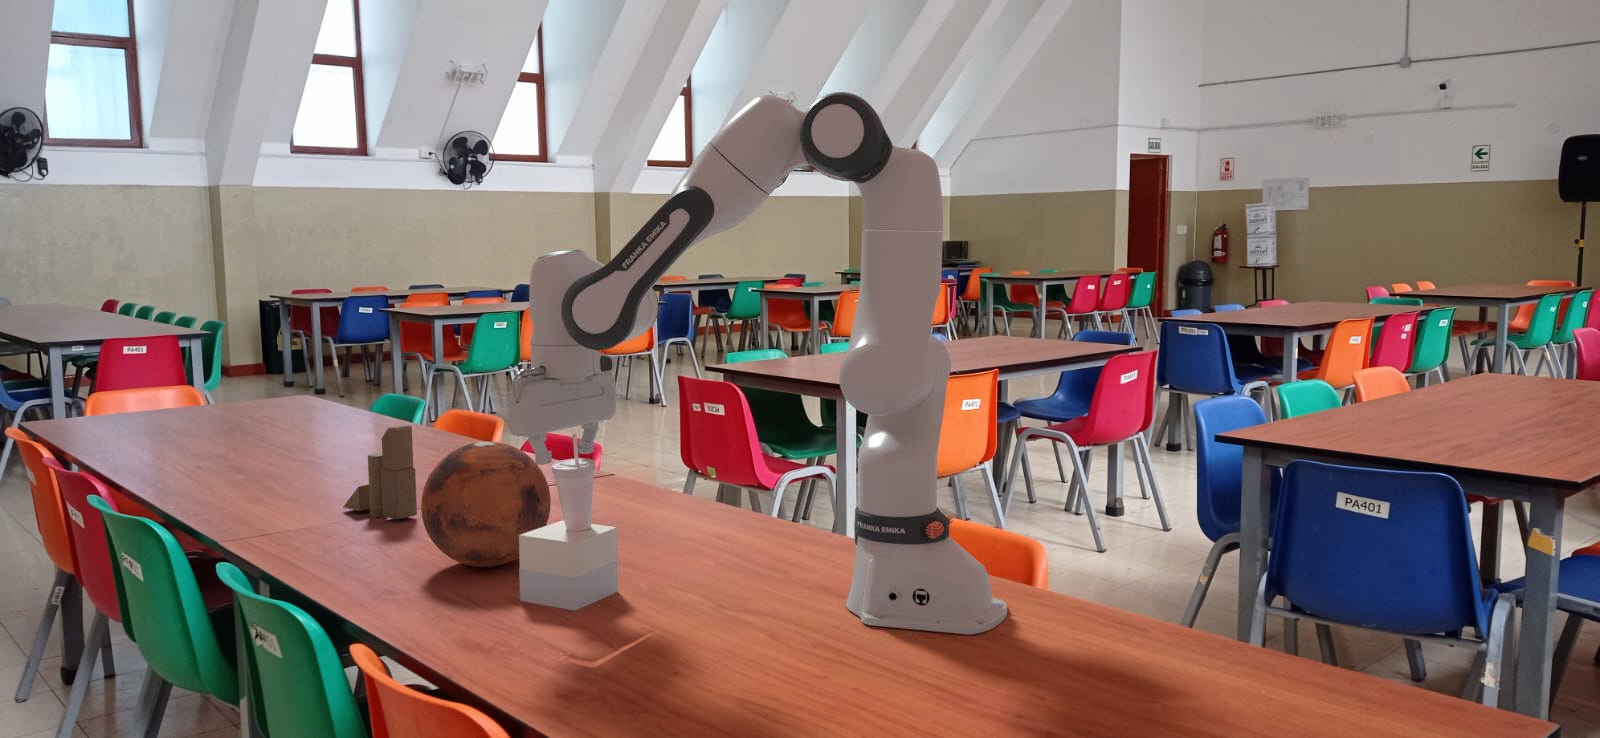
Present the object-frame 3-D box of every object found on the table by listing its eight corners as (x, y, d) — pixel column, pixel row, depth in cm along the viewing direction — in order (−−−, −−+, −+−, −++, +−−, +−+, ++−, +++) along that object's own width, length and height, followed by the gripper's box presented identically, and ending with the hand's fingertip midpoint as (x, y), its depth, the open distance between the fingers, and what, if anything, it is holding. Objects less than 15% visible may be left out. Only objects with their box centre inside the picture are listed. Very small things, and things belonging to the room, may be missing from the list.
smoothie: (592, 534, 164) (584, 440, 161) (549, 534, 165) (541, 440, 162) (606, 520, 170) (599, 429, 168) (565, 520, 171) (557, 429, 169)
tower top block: (617, 560, 168) (617, 527, 168) (575, 577, 160) (574, 542, 159) (563, 552, 173) (562, 520, 172) (519, 568, 164) (518, 535, 164)
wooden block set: (422, 519, 215) (418, 424, 213) (396, 524, 210) (392, 428, 208) (368, 507, 225) (364, 417, 223) (343, 513, 220) (338, 421, 218)
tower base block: (617, 593, 169) (617, 560, 168) (574, 612, 160) (574, 578, 159) (564, 584, 173) (563, 552, 173) (520, 602, 165) (519, 568, 164)
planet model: (462, 545, 195) (458, 430, 193) (571, 551, 191) (568, 434, 189) (398, 578, 176) (393, 451, 173) (518, 586, 172) (514, 455, 169)
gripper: (530, 371, 153) (533, 472, 154) (622, 358, 171) (624, 449, 172) (495, 369, 156) (498, 469, 157) (589, 356, 174) (591, 446, 175)
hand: (565, 458), depth 165 cm, fingers open, 8 cm apart
